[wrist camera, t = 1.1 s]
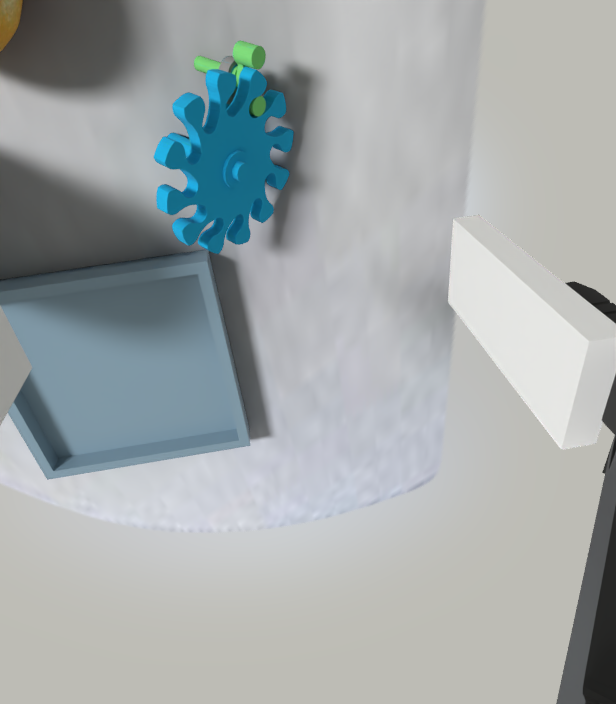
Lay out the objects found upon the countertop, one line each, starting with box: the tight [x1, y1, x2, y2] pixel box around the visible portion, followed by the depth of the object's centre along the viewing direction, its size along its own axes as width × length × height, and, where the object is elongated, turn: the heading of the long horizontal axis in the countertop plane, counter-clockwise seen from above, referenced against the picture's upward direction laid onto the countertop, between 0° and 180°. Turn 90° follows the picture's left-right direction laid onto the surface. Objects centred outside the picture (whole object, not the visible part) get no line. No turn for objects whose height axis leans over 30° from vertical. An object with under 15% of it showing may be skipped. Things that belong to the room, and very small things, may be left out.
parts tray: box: [0, 250, 250, 480], centre depth 38 cm, size 17×17×2 cm
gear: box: [154, 41, 294, 254], centre depth 29 cm, size 11×6×10 cm
